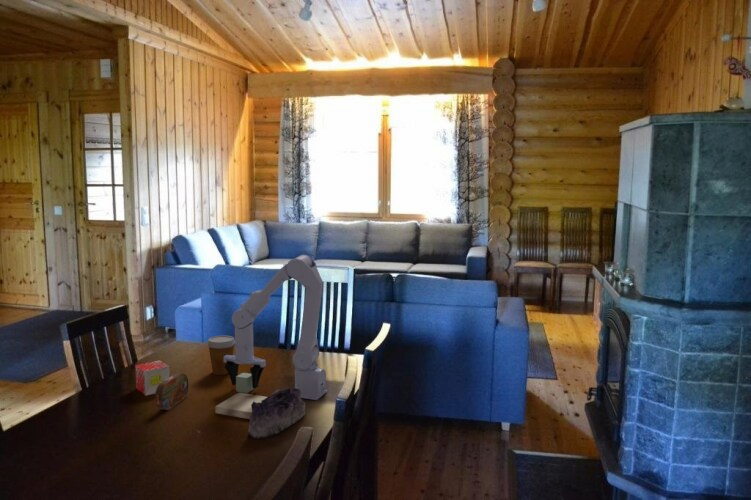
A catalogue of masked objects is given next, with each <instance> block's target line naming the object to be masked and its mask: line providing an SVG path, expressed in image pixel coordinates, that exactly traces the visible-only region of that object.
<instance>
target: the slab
mask: <svg viewBox="0 0 751 500" xmlns="http://www.w3.org/2000/svg"><path fill="white" fill-rule="evenodd" d="M267 397H268V396H263V395H257V394H249V393H243V392H236V393H235V394H234V395H232V396H230V397H229V398H226V400H223V401H222V402H220V403H218V404H217V405H216V406H214V407H215V409H214V410H215V413H214V414H219V415H225V416H229V417H230V416H231V417H235V418H241V419H248V420H250V416H251V415H252V406H251V404H252V403H253V402H256V403H258V402H260V403H261V402H262V400H264V399H265V398H267Z"/></svg>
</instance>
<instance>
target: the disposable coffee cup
mask: <svg viewBox="0 0 751 500" xmlns="http://www.w3.org/2000/svg"><path fill="white" fill-rule="evenodd" d="M206 344H207V346H208V349H209V350H208V351H209V357H210V363H211V364H210V365H211V369H212V374H214V375H216V376H217V375H218V376H224V375H229V373H228V372H227V370H226V369H225V365H226V363H227V362H224V356H226V355H234V350H235V349H234V348H235V337H234V336H231V335H216V336H212V337H209V338H208V341H207V343H206Z"/></svg>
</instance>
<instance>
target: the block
mask: <svg viewBox="0 0 751 500" xmlns="http://www.w3.org/2000/svg"><path fill="white" fill-rule="evenodd" d="M235 386H236V390H235V391H236V393H245V394H249V393H250V392H251V391H253V390H254V389H255V388H253V386H252V375H251V373H248V372H242V373H239V374H238V376H236V385H235Z"/></svg>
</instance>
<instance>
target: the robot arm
mask: <svg viewBox="0 0 751 500" xmlns="http://www.w3.org/2000/svg"><path fill="white" fill-rule="evenodd" d="M291 279H293V280H295V281H296V282H298V283H300V284H301V285H302V286H303V288H305V294H304V296H305V297H304V303H303V304H304V305H303V312H302V319H301V327H300V328H301V329H300V336H299V340H298V343H297V346H296V350H295V353H293V356H292V364H293V365H294V388H296V389H299V390H300V391H301V396H300V398H301V399H307V400H313V401H318V400H319V399H320V398H321V397H322V396H324V395H325V394H326V393H327V392H328V390H327V373H326V372H327V371H326V370H325V369H324V368H320V367H319V366H318V365H319V364H318V362H317V359H318V358H319V356H320V350H319V346H318V338H317V337H318V336H317V334H318V325H319V319H320V311H321V310H320V309H321V304H322V303H321V302H322V294H323V288H324V282H323V279H322V277H321V275H320V271H319V270H318V266H317V263H316V262H315V260H314V259H312V257H311V256H310V255H307V254H301V255H298V256H297V257H295V258H292V259H290V260H289V261H288V263H286V264H284V265H283V266H282V267H280V268H279V270H278V271H277V272H276V273H275V274H274V275H273V277H272V278H271V279H270V280H269V281H268V282H267V284H266V285H265V286H264V288H262V289H258V290H255V291H252V292H250V293H249V297H248V299H246V301H245V302H242V303H241V304H240V305H239V306H240V308H239V309H236V310H235V311H233V313H232V315H231V322H232V324H233V326H234V340H235V344H234V348H235V349H234V353H235V354H233V355H226V356H224V362H227V363H226V365H225V369H226V370H227V372H228V376H229V378H230V379H229V380H230V381H231V384H232V386H236V376H238V375H239V366H240V365H249V366H252V367H250V368H249V370H250V371H249V372H250V374H251V375H252V386H253V388H254V389H256V388H258V387H259V383H260V379H261V375H262V373H263V372H264V369H265V367H266V366H267V360H266V359H262V358H259V357H256V356H254V354H255V353H254V322H255V321H256V318H257V317H258V316H259V314H260V313H262V311H263V310H264V309H265V308H266V307H267V306H268V305H269V304H270V302H271V301H270V297H271V296H272V295H273V294H274V293H275V292H276V290H278V289H279V288H280V287H281V286H282V284H284V283H285V282H286V281H290V280H291Z"/></svg>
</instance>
